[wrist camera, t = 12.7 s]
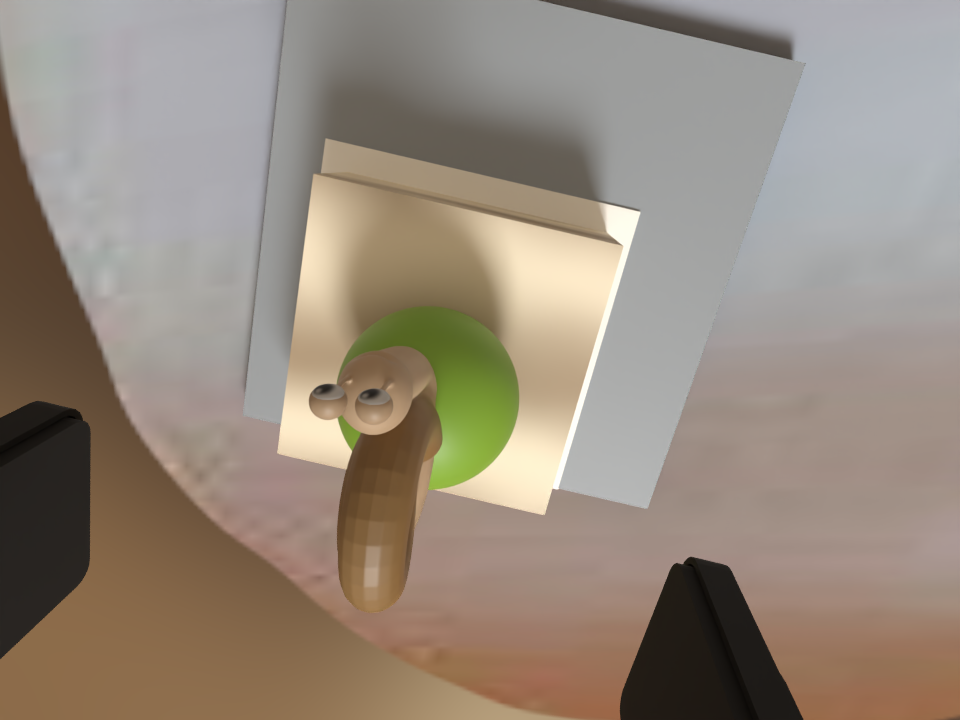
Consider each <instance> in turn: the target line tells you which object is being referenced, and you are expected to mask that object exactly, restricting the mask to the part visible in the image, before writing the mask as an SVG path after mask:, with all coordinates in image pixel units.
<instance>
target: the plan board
mask: <svg viewBox="0 0 960 720" xmlns="http://www.w3.org/2000/svg"><path fill="white" fill-rule="evenodd" d="M805 64H806V63H802V62H798V61H794V60H789V59H785V58H781V57H777V56H772V55H768V54H764V53H760V52H755V51H751V50H747V49H743V48H738V47H734V46H730V45H726V44H721V43H717V42H713V41H709V40H705V39H700V38H696V37H692V36H688V35H683V34H679V33H675V32H671V31H666V30H662V29H658V28H654V27H649V26H645V25H641V24H637V23H632V22H628V21H624V20H620V19H615V18H611V17H607V16H603V15H599V14H594V13H590V12H586V11H582V10H577V9H573V8H569V7H565V6H560V5H556V4H552V3H548V2H543V1H539V0H287V8H286V17H285V26H284V36H283V45H282V54H281V64H280V73H279V83H278V92H277V101H276V111H275V120H274V129H273V139H272V148H271V157H270V167H269V176H268V185H267V195H266V204H265V214H264V223H263V232H262V242H261V251H260V260H259V270H258V279H257V288H256V298H255V307H254V317H253V326H252V335H251V345H250V354H249V363H248V373H247V382H246V391H245V401H244V410H243V416H246V417H251V418H255V419H259V420H264V421H268V422H272V423H277V424H281V421H282V413H283V406H284V398H285V390H286V382H287V375H288V367H289V359H290V352H291V344H292V336H293V328H294V321H295V313H296V305H297V297H298V290H299V282H300V274H301V266H302V259H303V251H304V243H305V235H306V228H307V220H308V212H309V204H310V197H311V189H312V181H313V174H319V173H339V172H350V173H354V174H358V175H363V176H367V177H371V178H375V179H380V180H384V181H388V182H393V183H397V184H401V185H405V186H410V187H414V188H418V189H423V190H427V191H431V192H435V193H440V194H444V195H448V196H453V197H457V198H461V199H465V200H470V201H474V202H478V203H483V204H487V205H491V206H495V207H500V208H504V209H508V210H512V211H517V212H521V213H525V214H530V215H534V216H538V217H542V218H547V219H551V220H555V221H560V222H564V223H568V224H572V225H577V226H581V227H585V228H590V229H594V230H598V231H602V232H607V233H608V234H609V235H611V236H612V237H613V238H614V239H615V240H617V241H618V242H619V243H620V244H622V245H623V246H624V247H623V250H622V254H621V257H620V260H619V264H618V267H617V271H616V274H615V277H614V281H613V284H612V288H611V291H610V294H609V298H608V301H607V305H606V308H605V311H604V315H603V318H602V322H601V325H600V328H599V332H598V335H597V338H596V342H595V345H594V349H593V352H592V355H591V359H590V362H589V366H588V369H587V372H586V376H585V379H584V383H583V386H582V389H581V393H580V396H579V400H578V403H577V406H576V410H575V413H574V417H573V420H572V423H571V427H570V430H569V434H568V437H567V440H566V444H565V447H564V450H563V454H562V457H561V461H560V464H559V467H558V471H557V474H556V478H555V481H554V484H553V488H554V489H558V488H559V489H563V490H567V491H572V492H576V493H580V494H585V495H589V496H593V497H598V498H602V499H606V500H611V501H615V502H619V503H624V504H628V505H632V506H637V507H641V508H645V509H647V508H648V506H649V503H650V500H651V497H652V494H653V492H654V489H655V486H656V483H657V480H658V477H659V475H660V472H661V469H662V466H663V463H664V461H665V458H666V455H667V452H668V449H669V446H670V444H671V441H672V438H673V435H674V432H675V430H676V427H677V424H678V421H679V418H680V415H681V413H682V410H683V407H684V404H685V401H686V399H687V396H688V393H689V390H690V387H691V385H692V382H693V379H694V376H695V373H696V370H697V368H698V365H699V362H700V359H701V356H702V354H703V351H704V348H705V345H706V342H707V339H708V337H709V334H710V331H711V328H712V325H713V323H714V320H715V317H716V314H717V311H718V308H719V306H720V303H721V300H722V297H723V294H724V292H725V289H726V286H727V283H728V280H729V278H730V275H731V272H732V269H733V266H734V263H735V261H736V258H737V255H738V252H739V249H740V247H741V244H742V241H743V238H744V235H745V232H746V230H747V227H748V224H749V221H750V218H751V216H752V213H753V210H754V207H755V204H756V202H757V199H758V196H759V193H760V190H761V187H762V185H763V182H764V179H765V176H766V173H767V171H768V168H769V165H770V162H771V159H772V156H773V154H774V151H775V148H776V145H777V142H778V140H779V137H780V134H781V131H782V128H783V125H784V123H785V120H786V117H787V114H788V111H789V109H790V106H791V103H792V100H793V97H794V95H795V92H796V89H797V86H798V83H799V80H800V78H801V75H802V72H803V69H804V66H805Z"/></svg>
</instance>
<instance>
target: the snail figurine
mask: <svg viewBox="0 0 960 720" xmlns="http://www.w3.org/2000/svg"><path fill="white" fill-rule="evenodd" d="M309 407H310V409H311V411H312V413H313V414H314V415H315V416H316V417H318V418H320V419H323V420H333V419H336V418H338V422H339V426H340V429H341V432H342V434H343V436H344V439H345V441H346V442H347V444H348V446H349V447H350V449H351V450H352V453H351V456H350V459H349V462H348V466H347V469H346V473H345V477H344V482H343V486H342V492H341V498H340V504H339V513H338V524H337V550H338V571H339V580H340V584H341V587H342V590H343V592H344V595H345V597H346V598H347V600H348V601H349V602H350V603H351V604H352V605H353V606H354V607H355V608H357V609H358V610H361V611H364V612H367V613H374V612H381V611H383V610H385V609H387V608H389V607H391V606H392V605H393V604H394V603H395V602H396V601H397V600H398V599H399V597H400V596H401V594H402V592H403V590H404V587H405V584H406V580H407V576H408V571H409V565H410V559H411V552H412V545H413V536H414V529H415V527H416V525H417V522H418V520H419V517H420V514H421V512H422V509H423V505H424V502H425V499H426V495H427V491H428V490H435V489H443V488H448V487H452V486H455V485H458V484H461V483H463V482H465V481H467V480H469V479H471V478H473V477H475V476H476V475H478V474H479V473H481V472H482V471H484V470H485V469H486V468H487V467H488V466H489V465H490V464H492V463H493V462H494V461H495V459H496V458H497V457H498V456H499V455H500V453H501V452H502V451H503V449H504V448H505V446H506V444H507V443H508V441H509V439H510V437H511V435H512V432H513V430H514V427H515V424H516V420H517V416H518V410H519V385H518V379H517V375H516V371H515V368H514V365H513V363H512V360H511V358H510V356H509V354H508V353H507V351H506V349H505V348H504V346H503V345H502V343H501V342H500V341H499V339H498V338H497V337H496V336H495V335H494V334H493V333H492V332H491V331H490V330H489V329H488V328H487V327H485V326H484V325H483V324H482V323H480V322H479V321H477V320H475V319H474V318H472V317H470V316H468V315H466V314H464V313H461V312H459V311H456V310H452V309H448V308H443V307H436V306H420V307H412V308H407V309H403V310H400V311H397V312H394V313H392V314H389V315H387V316H385V317H383V318H382V319H380V320H378V321H377V322H375V323H374V324H373V325H371V326H370V327H369V328H368V329H366V330H365V331H364V332H363V333H362V334H361V335H360V336H359V337H358V339H357V340H356V341H355V342H354V344H353V345H352V346H351V348H350V349H349V351H348V353H347V354H346V356H345V358H344V361H343V363H342V365H341V368H340V371H339V374H338V378H337V384H322V385H319V386H317V387H316V388H315V389H314V390H313V391H312V392H311V394H310V396H309Z"/></svg>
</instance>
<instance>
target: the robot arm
mask: <svg viewBox="0 0 960 720" xmlns="http://www.w3.org/2000/svg"><path fill="white" fill-rule="evenodd" d="M89 561H90V427H89V425H88V423H87V422H85V421H83V418H82V416H81V414H80V412H78V411H77V410H76V409H72V408H68V407H63V406H59V405H55V404H51V403H47V402H42V401H35V402H32V403H29V404H27V405H25V406H23V407H21V408H19V409H17V410H15V411H13V412H11V413H9V414H7V415H5V416H3V417H1V418H0V659H1V658H2V657H3V656H4V655H5V654H6V653H7V652H8V651H9V650H10V649H11V648H12V647H14V645H16V643H18V642H19V641H20V640H21V639H22V638H23V637H24V636H25V635H26V634H27V633H28V632H29V631H30V630H31V629H33V628H34V627H35V626H36V625H37V624H38V623H39V622H40V621H41V620H42V619H43V618H44V617H45V616H46V615H47V614H48V613H49V612H50V611H52V610H53V609H54V608H55V607H56V606H57V605H58V604H59V603H60V602H61V601H62V600H63V599H64V598H65V597H66V596H67V595H68V594H69V593H71V592H72V590H74V589H75V588H76V587H77V586H78V585H79V584H80V582H81V581H82V579H83V578H84V576H85V574H86V572H87V570H88V567H89ZM620 718H621V720H803V718H802V716H801V714H800V712H799V709H798V707H797V705H796V703H795V701H794V699H793V697H792V695H791V693H790V690H789V688H788V686H787V684H786V682H785V680H784V679H783V677H782V676H781V674H780V673H779V671H778V669H777V667H776V664H775V662H774V660H773V658H772V656H771V654H770V652H769V650H768V647H767V645H766V643H765V641H764V639H763V637H762V635H761V633H760V630H759V628H758V626H757V624H756V622H755V620H754V618H753V616H752V614H751V611H750V609H749V607H748V605H747V603H746V601H745V599H744V597H743V594H742V592H741V590H740V588H739V586H738V584H737V582H736V580H735V577H734V575H733V573H732V571H731V570H730V568H729V567H728V566H726V565H723V564H719V563H715V562H711V561H707V560H703V559H698V558H694V557H689V558H687V559H686V561H685V562H684V564H679V563H676V564H674V565H673V566H672V568H671V570H670V572H669V574H668V577H667V579H666V582H665V584H664V587H663V590H662V592H661V595H660V597H659V600H658V602H657V605H656V607H655V610H654V612H653V615H652V617H651V620H650V623H649V625H648V628H647V630H646V633H645V635H644V638H643V640H642V643H641V645H640V648H639V650H638V653H637V656H636V658H635V661H634V663H633V666H632V668H631V671H630V673H629V676H628V678H627V681H626V683H625V686H624V688H623V692H622V696H621V702H620Z"/></svg>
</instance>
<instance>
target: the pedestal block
mask: <svg viewBox="0 0 960 720" xmlns="http://www.w3.org/2000/svg"><path fill="white" fill-rule="evenodd" d="M623 247H624V246H623V245H622V244H620V243H619V242H618V241H617V240H615V239H614V238H613V237H612V236H611V235H609V234H608V233H607V232H602V231H598V230H594V229H590V228H585V227H581V226H577V225H572V224H568V223H564V222H560V221H555V220H551V219H547V218H542V217H538V216H534V215H530V214H525V213H521V212H517V211H512V210H508V209H504V208H500V207H495V206H491V205H487V204H483V203H478V202H474V201H470V200H465V199H461V198H457V197H453V196H448V195H444V194H440V193H435V192H431V191H427V190H423V189H418V188H414V187H410V186H405V185H401V184H397V183H393V182H388V181H384V180H380V179H375V178H371V177H367V176H363V175H358V174H354V173H350V172H339V173H319V174H313V181H312V189H311V197H310V204H309V212H308V220H307V228H306V235H305V243H304V251H303V259H302V266H301V274H300V282H299V290H298V297H297V305H296V313H295V321H294V328H293V336H292V344H291V352H290V359H289V367H288V375H287V382H286V390H285V398H284V406H283V413H282V421H281V429H280V437H279V444H278V452H277V454H281V455H285V456H290V457H294V458H298V459H303V460H307V461H311V462H316V463H320V464H324V465H329V466H333V467H337V468H342V469H347V466H348V462H349V459H350V456H351V453H352V450H351V449H350V447H349V446H348V444H347V442H346V441H345V439H344V436H343V434H342V432H341V429H340V426H339V422H338V418H336V419H333V420H323V419H320V418H318V417H316V416H315V415H314V414H313V413H312V411H311V409H310V407H309V396H310V394H311V392H312V391H313V390H314V389H315V388H316V387H317V386H319V385H322V384H337V378H338V374H339V371H340V368H341V365H342V363H343V361H344V358H345V356H346V354H347V353H348V351H349V349H350V348H351V346H352V345H353V344H354V342H355V341H356V340H357V339H358V337H359V336H360V335H361V334H362V333H363V332H364V331H365V330H366V329H368V328H369V327H370V326H371V325H373V324H374V323H375V322H377V321H378V320H380V319H382V318H383V317H385V316H387V315H389V314H392V313H394V312H397V311H400V310H403V309H407V308H412V307H420V306H436V307H443V308H448V309H452V310H456V311H459V312H461V313H464V314H466V315H468V316H470V317H472V318H474V319H475V320H477V321H479V322H480V323H482V324H483V325H484V326H485V327H487V328H488V329H489V330H490V331H491V332H492V333H493V334H494V335H495V336H496V337H497V338H498V339H499V341H500V342H501V343H502V345H503V346H504V348H505V349H506V351H507V353H508V354H509V356H510V358H511V360H512V363H513V365H514V368H515V371H516V375H517V379H518V385H519V410H518V416H517V420H516V424H515V427H514V430H513V432H512V435H511V437H510V439H509V441H508V443H507V444H506V446H505V448H504V449H503V451H502V452H501V453H500V455H499V456H498V457H497V458H496V459H495V461H494V462H493V463H492V464H490V465H489V466H488V467H487V468H486V469H485V470H484V471H482V472H481V473H479V474H478V475H476V476H475V477H473V478H471V479H469V480H467V481H465V482H463V483H461V484H458V485H455V486H452V487H448V488H443V489H435V490H437V491H442V492H446V493H450V494H455V495H459V496H463V497H468V498H472V499H476V500H481V501H485V502H489V503H494V504H498V505H502V506H507V507H511V508H515V509H520V510H524V511H529V512H533V513H537V514H542V515H545V512H546V508H547V505H548V501H549V498H550V495H551V491H552V488H553V484H554V481H555V478H556V474H557V471H558V467H559V464H560V461H561V457H562V454H563V450H564V447H565V444H566V440H567V437H568V434H569V430H570V427H571V423H572V420H573V417H574V413H575V410H576V406H577V403H578V400H579V396H580V393H581V389H582V386H583V383H584V379H585V376H586V372H587V369H588V366H589V362H590V359H591V355H592V352H593V349H594V345H595V342H596V338H597V335H598V332H599V328H600V325H601V322H602V318H603V315H604V311H605V308H606V305H607V301H608V298H609V294H610V291H611V288H612V284H613V281H614V277H615V274H616V271H617V267H618V264H619V260H620V257H621V254H622V250H623Z"/></svg>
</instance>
